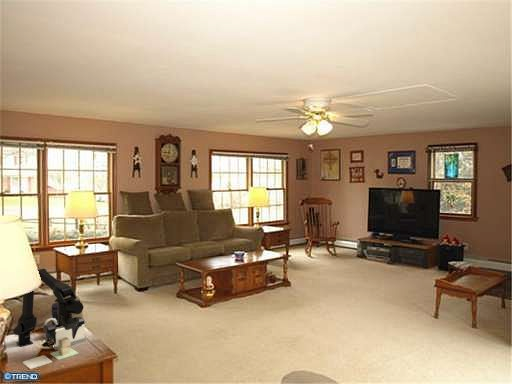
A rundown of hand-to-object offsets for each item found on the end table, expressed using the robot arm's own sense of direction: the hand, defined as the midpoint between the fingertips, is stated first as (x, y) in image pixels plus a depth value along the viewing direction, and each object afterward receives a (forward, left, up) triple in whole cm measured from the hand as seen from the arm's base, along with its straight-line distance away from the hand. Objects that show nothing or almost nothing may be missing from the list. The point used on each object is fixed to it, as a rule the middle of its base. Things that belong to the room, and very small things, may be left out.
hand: (64, 341), depth 211 cm
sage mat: (0, 0, -6) cm, 6 cm away
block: (0, 0, -6) cm, 6 cm away
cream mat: (0, -13, -6) cm, 14 cm away
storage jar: (-34, +13, -7) cm, 37 cm away
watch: (-25, +4, -7) cm, 26 cm away
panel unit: (-14, +7, -6) cm, 17 cm away
